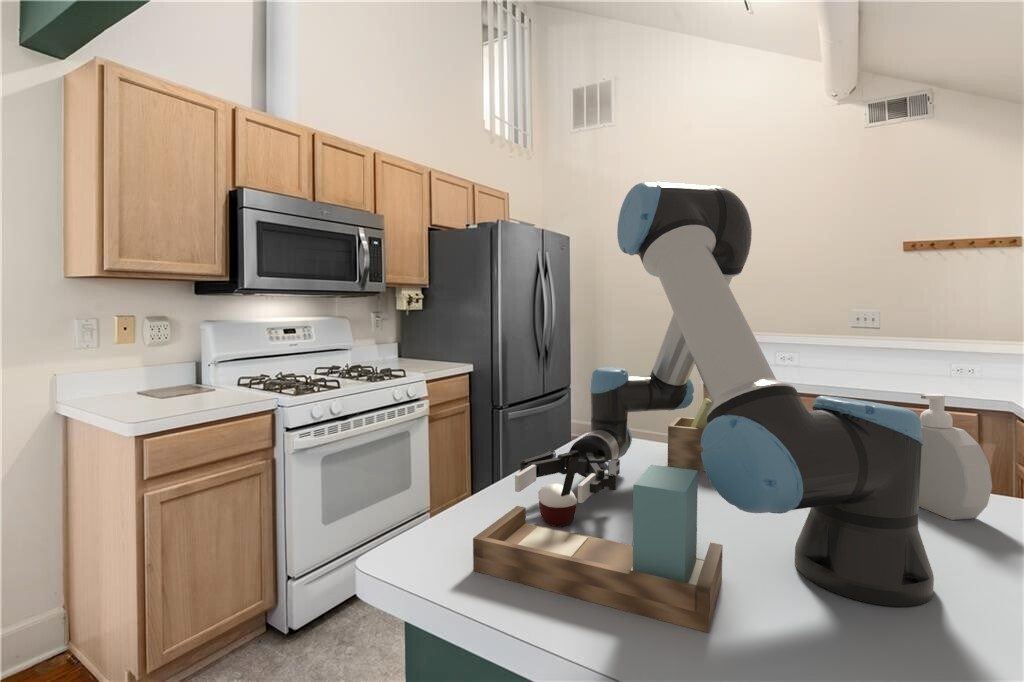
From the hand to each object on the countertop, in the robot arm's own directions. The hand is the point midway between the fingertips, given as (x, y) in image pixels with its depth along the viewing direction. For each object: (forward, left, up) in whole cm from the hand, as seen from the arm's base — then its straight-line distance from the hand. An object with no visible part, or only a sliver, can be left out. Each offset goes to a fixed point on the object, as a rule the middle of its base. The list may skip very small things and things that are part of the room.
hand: (547, 488), depth 83 cm
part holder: (-23, -50, -7) cm, 55 cm away
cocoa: (0, -4, -7) cm, 8 cm away
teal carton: (-20, +9, -5) cm, 22 cm away
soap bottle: (-56, -40, -7) cm, 69 cm away
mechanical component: (-23, -50, -7) cm, 56 cm away
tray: (-11, +9, -7) cm, 16 cm away
